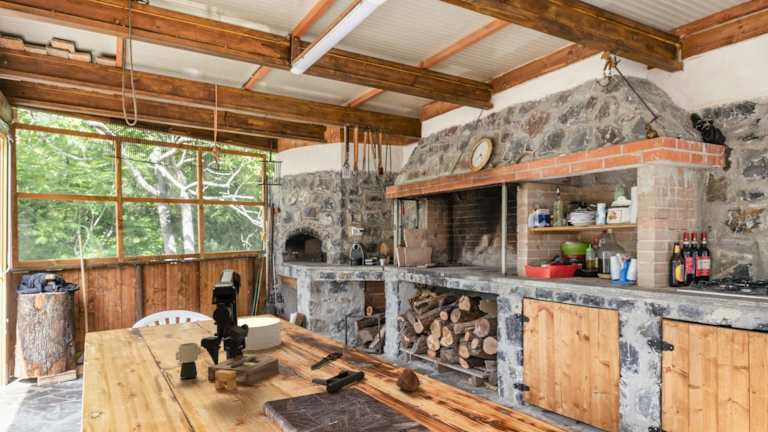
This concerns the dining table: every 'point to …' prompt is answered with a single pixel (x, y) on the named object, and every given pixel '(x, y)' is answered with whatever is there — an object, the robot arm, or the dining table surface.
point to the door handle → (340, 380)
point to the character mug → (188, 359)
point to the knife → (326, 360)
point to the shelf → (252, 372)
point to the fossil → (408, 380)
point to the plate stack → (262, 332)
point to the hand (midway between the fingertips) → (225, 361)
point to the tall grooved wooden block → (225, 379)
